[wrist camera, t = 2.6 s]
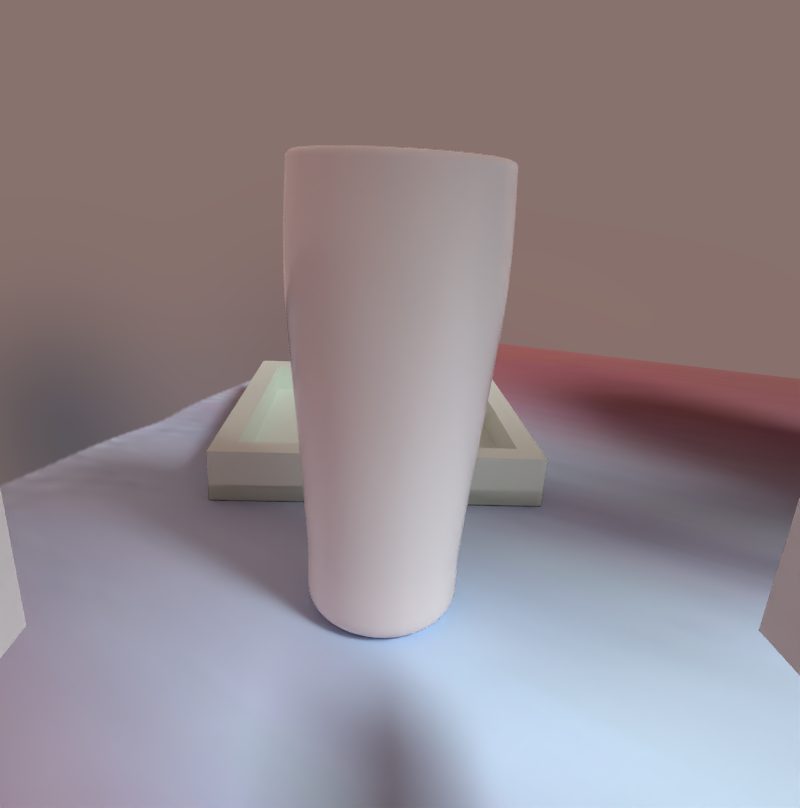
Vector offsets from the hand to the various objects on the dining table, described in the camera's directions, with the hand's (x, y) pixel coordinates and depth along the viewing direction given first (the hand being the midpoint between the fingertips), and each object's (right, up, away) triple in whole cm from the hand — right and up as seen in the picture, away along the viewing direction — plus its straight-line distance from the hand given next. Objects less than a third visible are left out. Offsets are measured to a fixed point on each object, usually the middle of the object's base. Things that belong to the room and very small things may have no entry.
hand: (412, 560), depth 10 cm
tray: (-2, +1, +26) cm, 26 cm away
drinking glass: (-1, -5, +12) cm, 13 cm away
